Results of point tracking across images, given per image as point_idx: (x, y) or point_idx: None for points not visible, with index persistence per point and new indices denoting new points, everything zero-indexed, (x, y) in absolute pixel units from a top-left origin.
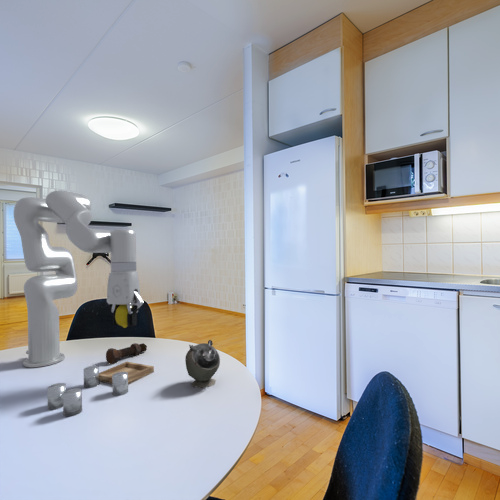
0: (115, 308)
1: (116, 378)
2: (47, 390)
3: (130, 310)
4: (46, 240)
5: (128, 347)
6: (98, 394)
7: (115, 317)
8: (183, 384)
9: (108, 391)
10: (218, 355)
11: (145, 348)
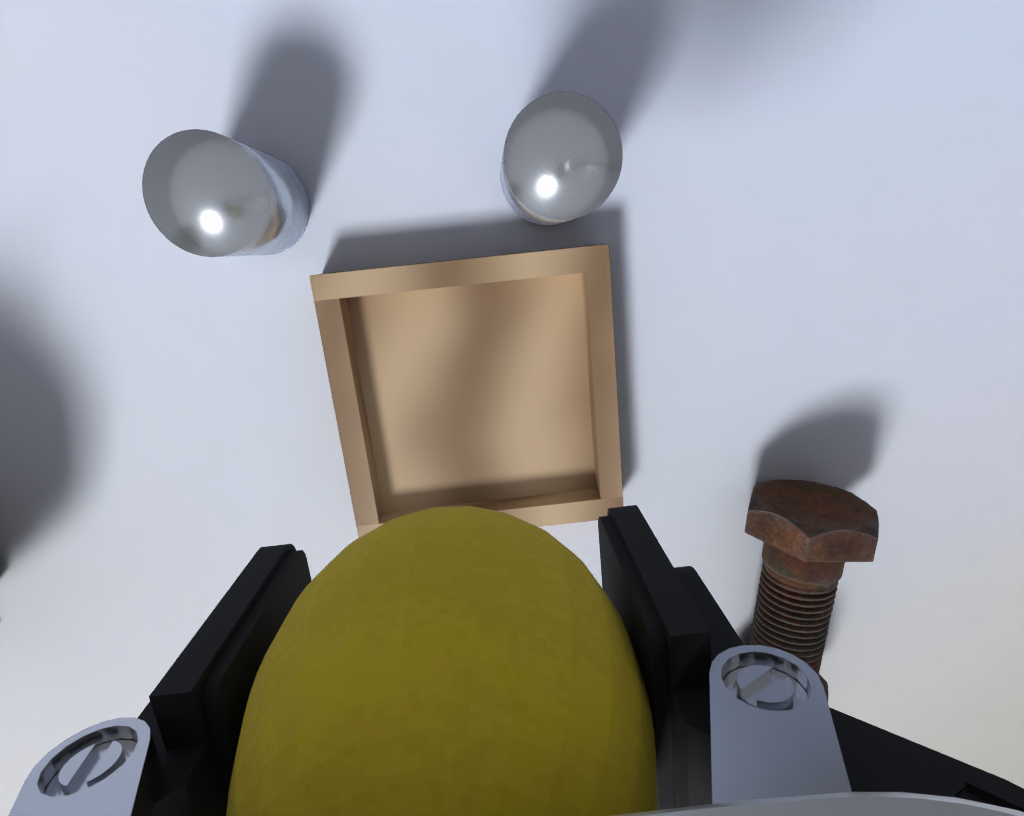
0: (711, 765)
1: (173, 137)
2: None
3: (40, 800)
4: None
5: None
6: (360, 106)
7: (524, 542)
8: (28, 487)
9: (345, 172)
10: None
11: None
